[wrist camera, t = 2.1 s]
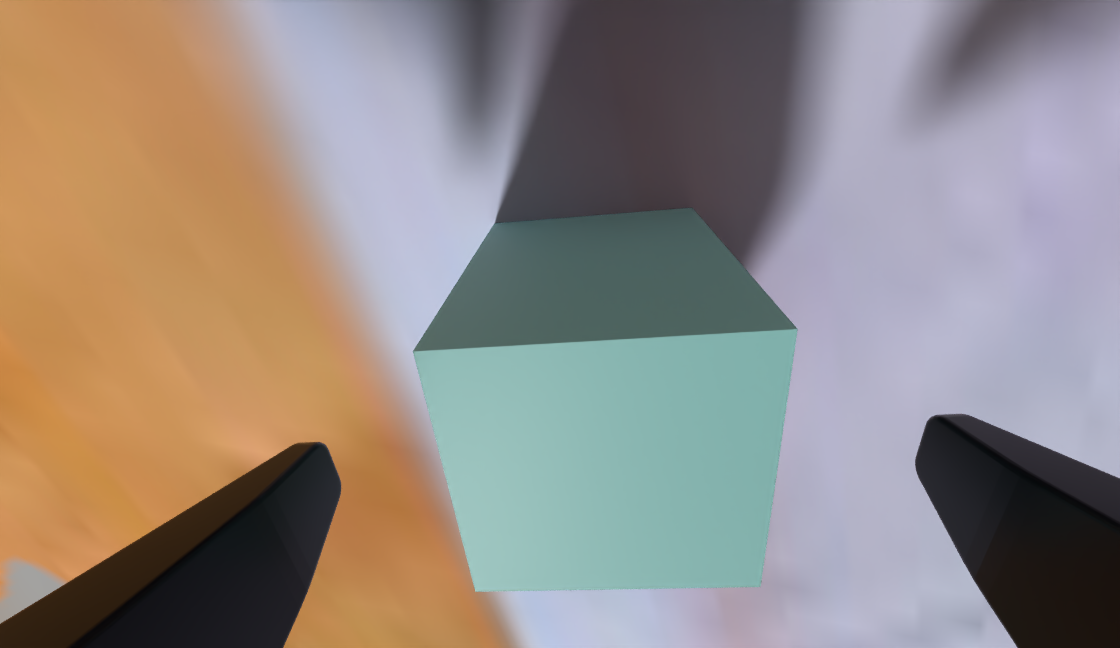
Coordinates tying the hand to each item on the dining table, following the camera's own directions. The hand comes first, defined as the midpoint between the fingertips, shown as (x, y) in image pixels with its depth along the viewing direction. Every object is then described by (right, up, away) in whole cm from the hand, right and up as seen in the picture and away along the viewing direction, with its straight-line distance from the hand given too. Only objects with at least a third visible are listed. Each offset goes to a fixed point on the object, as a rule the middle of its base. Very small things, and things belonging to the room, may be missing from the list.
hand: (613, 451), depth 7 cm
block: (0, +2, +5) cm, 5 cm away
